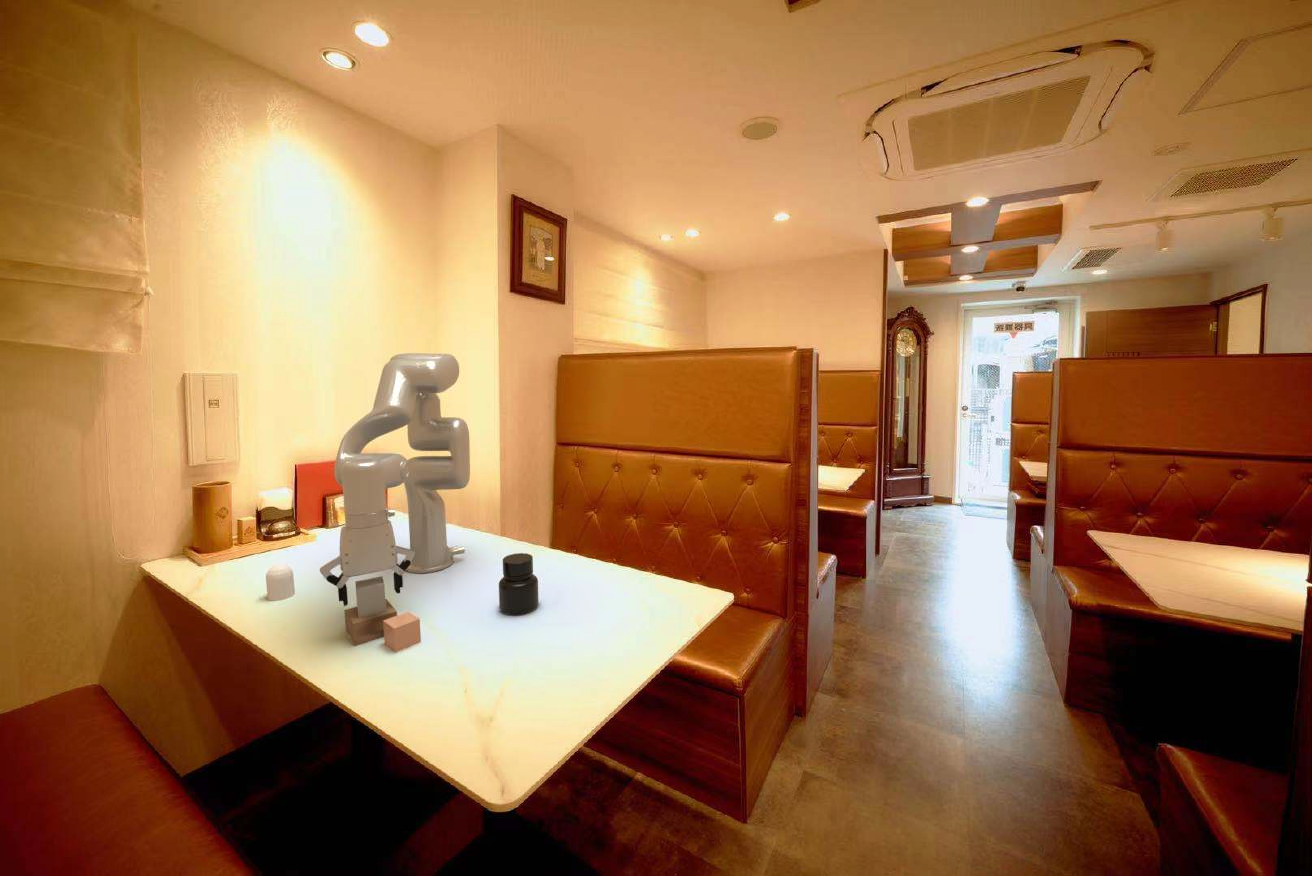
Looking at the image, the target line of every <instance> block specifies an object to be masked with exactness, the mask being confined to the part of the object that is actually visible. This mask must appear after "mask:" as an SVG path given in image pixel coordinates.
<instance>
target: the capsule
mask: <svg viewBox="0 0 1312 876" xmlns="http://www.w3.org/2000/svg"><path fill="white" fill-rule="evenodd" d="M294 581H295V579H294V572H293V570H292V568H291V566H289V565H288V564H287V565H286V564H283V563H279V564H275V565H273V566H271V567H270V568H269V569H268V571H267V572H266V575H265V583H266V585H265V586H266V593H267V594H266V595H267V600H268V601H271V602H278V601H282V600H287V599H289V598H292V597H294V595H295V594H296V590H295V582H294Z"/></svg>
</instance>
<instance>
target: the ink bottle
mask: <svg viewBox="0 0 1312 876" xmlns="http://www.w3.org/2000/svg"><path fill="white" fill-rule="evenodd" d="M533 561H534V560H533V555H531V554H530V553H525V552H524V553H523V552H520V553H517V552H516V553H511V554H508V555H507V556H504V557H503V558H502V575H503V577H502V578H501V579H500V580H499V582H498V606H499V607H498V608H499V610H500V611H501V612H502V613H504V614H507V615H510V616H512V615H513V616H520V615H524V614H527V613H530V612H532V611H534V610H535V609H537V607H538V606H539V602H540V601H539V600H540V599H539V580H538V576H536V575H535V574H534V573H533V572H534V563H533Z"/></svg>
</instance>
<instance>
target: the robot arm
mask: <svg viewBox="0 0 1312 876" xmlns="http://www.w3.org/2000/svg"><path fill="white" fill-rule="evenodd" d="M459 375H460V364H459V362H458V360H457V358H456V357H455V356H454V355H452V354H449V353H421V352H418V353H417V352H416V353H415V352H405V353H398V354H394V355H393V356H392V357H390V359H389V361H388V362H387V363H385V364H384V365H383V368H382V370H381V375H380V379H379V383H378V385H377V389H376V394H375V398H374V401H373V406H372V409H371V411H369V412H368V413H367V414H365V415H364V416H363V417H362V418H360V419H359V420H358V421H357V422H355V423H354V424H353V425H352V426H351V428H349V429H348V431H347V432H346V433H345V434H344V435H343V437H342V439H341V441H340V443H339V447H338V450H337V454H336V456H335V457H336V458H335V463H334V466H333V467H334V471H333V472H334V477H335V480H336V482H337V483H338V485H340V486H341V487H342V497H343V506H344V507H343V508H344V509H343V510H344V519H345V520H344V522H345V523H344V526H342V527H341V529H340V536H339V555H338V556H337V557H335V558H333V559H332V560H331V561H329V562H327V563H326V564H324V565H323V566H321V567H319V572H320V574H321V575H322V576H323V578H324V579H325V580H326V581H327V582H328V583H330V584H331V585H333V586H335V587H336V588H337V593H338V595H337V596H338V602H342V604H343V607H347V606H348V605H349V599H348V597H349V596H348V587H347V582H349V580H350V578H352V577H353V578H354V577H358V576H362V575H368V574H373V573H378V572H382V571H387V570H390V569H391V570H392V571H393V574H392V576H393V588H394V592H395V593H396V594H401V588H404V587H403V586H404V581H403V580H404V579H403V575H404V573H405V571H407V572H410V573H413V574H414V573H415V574H425V573H433V572H437V571H441V570H444V569H447V568H448V567H451V565H452V564H453V563H454V556H455V555H462V554H465V552H466V550H465V547H464V546H461V547H458V546H456V545H455V546H452V547H449V546H448V542H447V541H448V539H447V537H448V536H447V522H446V521H447V519H446V504H445V500H444V499H443V497H442V496H441V494H439V493H438V491H440V490H441V491H445V490H447V491H448V490H451V491H452V490H463V489H465V488H467V486H468V485H469V483H470V477H471V459H470V457H471V456H470V455H471V451H470V449H471V448H470V446H471V445H470V444H471V443H470V432H469V427H468V424H467V422H466V421H465V420H464V419H463V418H460V417H456V416H455V417H452V416H451V417H444V416H443V417H442V413H441V412H442V411H441V399H440V397H439V395H438V394H441V393H444V392H446V391H447V390H448V389H450V388H451V387H453V385H455V384H456V383H457V381H458V379H459ZM406 426H407V441H408V445H409V447H410V448H411V449H412V450H414V451H417V452H449V453H450V455H421V456H413V457H411V458H408V459H407V458H406V457H405V456H403V455H401V454H398V453H390V452H389V453H388V452H385V453H380V452H378V453H376V452H369V453H368V452H367V453H363V452H362V451H363V450H364V448H365V447H366V446H367V445H368V444H369V443H370V442H373V441H374V440H375V439H378V438H379V437H381V436H384V435H386V434H389V433H391V432H394V431H397V430H399V429H400V428H401V429H402V428H404V427H406ZM402 484H403V485H404V488H405V489H404V490H405V494H406V499H407V502H406V503H407V513H408V514H407V515H408V529H409V530H408V532H409V545H410V546H409V548H406V547H402V546H398V545H397V544H396V537H395V534H394V529H393V525H392V521H391V520H390V519H389V518H391V517H394V516H396V511H395V509H388V508H387V496H386V495H387V494H386V490H387V489H392V488H396V487H398V486H401V485H402ZM398 554H399V555H403V556H405V557H404V559H403V560H402V561H401V563H400V564H399V563H398ZM338 566H340V570H341V573H340V574H339V575H338V576H337V575H335V574H333V573H332V572H331V571H332V570H333V569H334V568H336V567H338Z"/></svg>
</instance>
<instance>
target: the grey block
mask: <svg viewBox="0 0 1312 876" xmlns="http://www.w3.org/2000/svg"><path fill="white" fill-rule="evenodd" d="M385 586H386V585H385V581H384V578H383V575H382V576H377V577H372V578H371V577H370V578H367V579H361V580H357V581H355V595H356V596H355V597H356V607H357V609H358V617H359V618H360V617H364V616H369V615H373V614H378V613H382V612H386V600H385V599H386V587H385Z"/></svg>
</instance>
